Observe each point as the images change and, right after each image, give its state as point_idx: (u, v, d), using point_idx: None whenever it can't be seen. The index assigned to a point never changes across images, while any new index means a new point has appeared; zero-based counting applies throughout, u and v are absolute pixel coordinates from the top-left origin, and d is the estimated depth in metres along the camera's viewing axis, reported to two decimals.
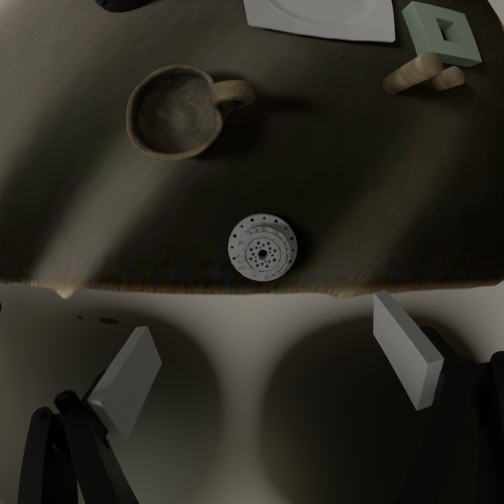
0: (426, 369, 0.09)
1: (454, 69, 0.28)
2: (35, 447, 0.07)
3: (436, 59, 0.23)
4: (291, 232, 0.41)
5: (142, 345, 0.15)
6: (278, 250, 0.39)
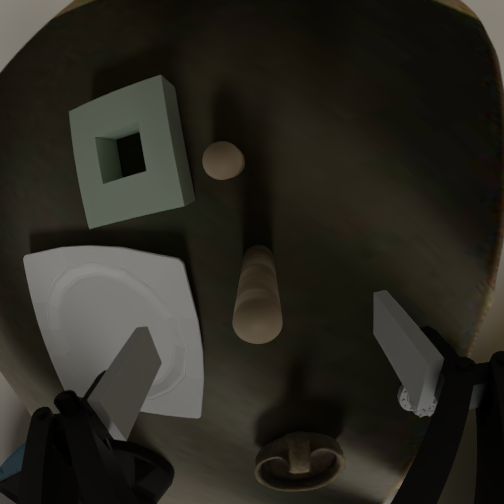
0: (426, 369, 0.09)
1: (211, 167, 0.22)
2: (35, 447, 0.07)
3: (245, 312, 0.17)
4: None
5: (142, 346, 0.15)
6: None
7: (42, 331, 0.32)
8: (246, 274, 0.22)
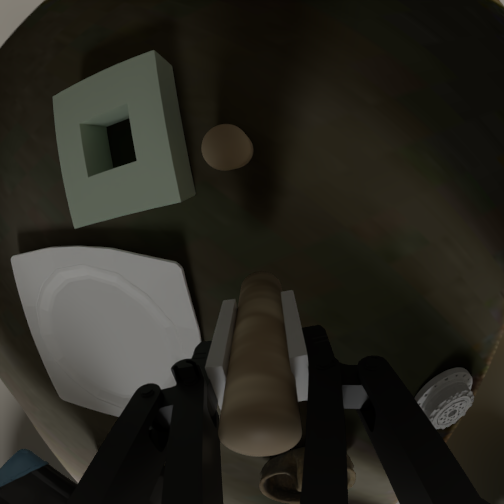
0: (290, 362, 0.11)
1: (212, 155, 0.18)
2: (126, 428, 0.08)
3: (239, 423, 0.09)
4: (440, 381, 0.28)
5: (235, 316, 0.16)
6: (454, 403, 0.26)
7: (34, 336, 0.29)
8: (242, 334, 0.14)
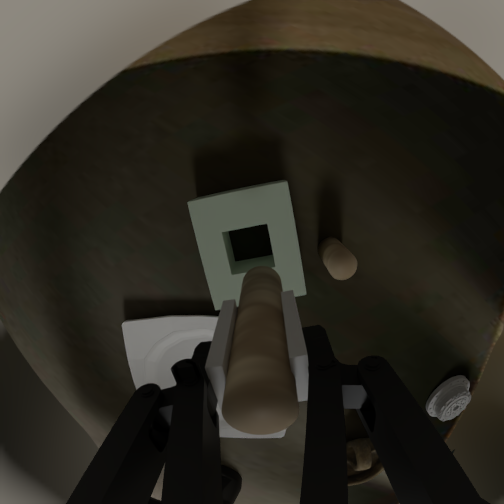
0: (290, 362, 0.11)
1: (334, 271, 0.28)
2: (126, 428, 0.08)
3: (241, 400, 0.10)
4: (447, 385, 0.39)
5: (235, 316, 0.16)
6: (457, 401, 0.37)
7: (135, 382, 0.39)
8: (244, 321, 0.15)
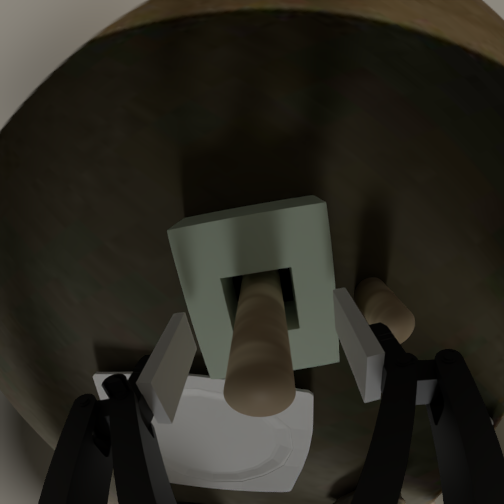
0: (366, 362, 0.10)
1: None
2: (72, 436, 0.08)
3: (242, 381, 0.11)
4: None
5: (182, 330, 0.16)
6: None
7: None
8: (244, 311, 0.16)
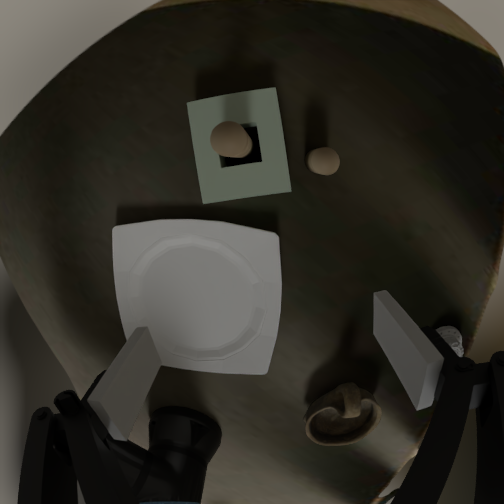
0: (426, 369, 0.09)
1: (318, 165, 0.29)
2: (35, 447, 0.07)
3: (220, 129, 0.22)
4: None
5: (142, 345, 0.15)
6: None
7: (118, 299, 0.41)
8: None
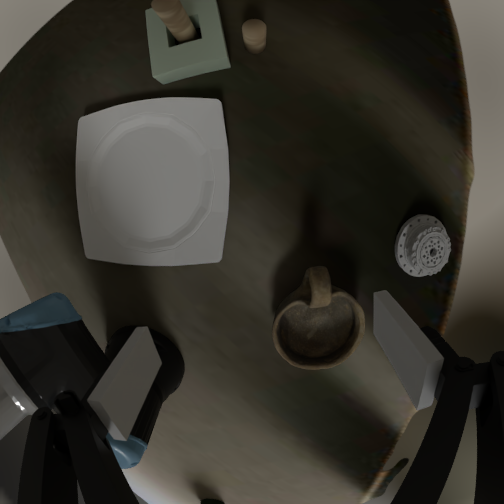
0: (426, 369, 0.09)
1: (247, 31, 0.28)
2: (35, 447, 0.07)
3: None
4: (414, 220, 0.39)
5: (142, 345, 0.15)
6: (431, 238, 0.37)
7: (77, 191, 0.39)
8: None
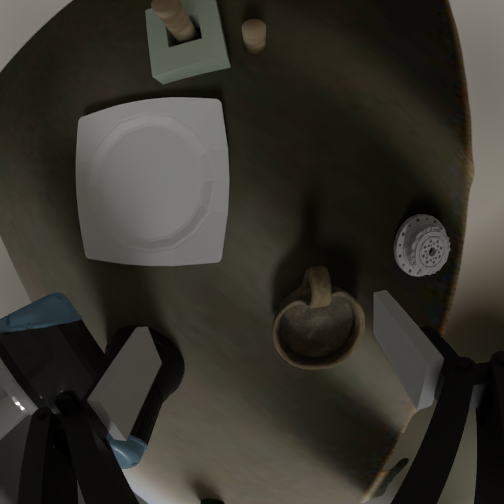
0: (426, 369, 0.09)
1: (247, 31, 0.28)
2: (35, 447, 0.07)
3: None
4: (413, 220, 0.39)
5: (142, 345, 0.15)
6: (431, 238, 0.37)
7: (77, 191, 0.39)
8: None
